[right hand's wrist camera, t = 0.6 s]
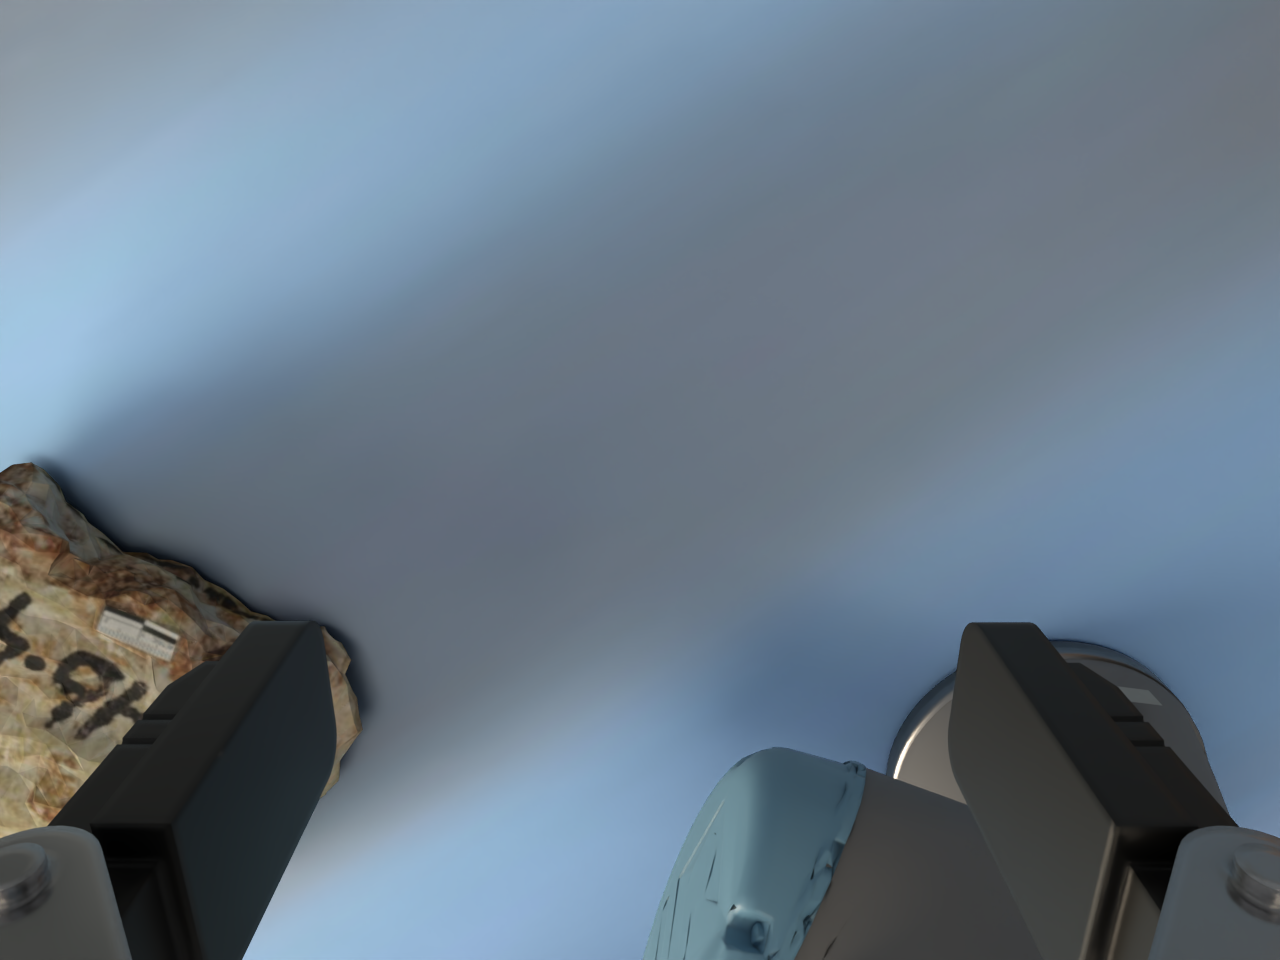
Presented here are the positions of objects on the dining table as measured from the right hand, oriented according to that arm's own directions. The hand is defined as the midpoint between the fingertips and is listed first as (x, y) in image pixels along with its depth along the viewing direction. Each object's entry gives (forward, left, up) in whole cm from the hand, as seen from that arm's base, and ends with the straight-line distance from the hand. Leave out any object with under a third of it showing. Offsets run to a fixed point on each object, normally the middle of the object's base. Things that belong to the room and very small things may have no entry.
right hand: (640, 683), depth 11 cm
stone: (+22, -25, -29) cm, 44 cm away
